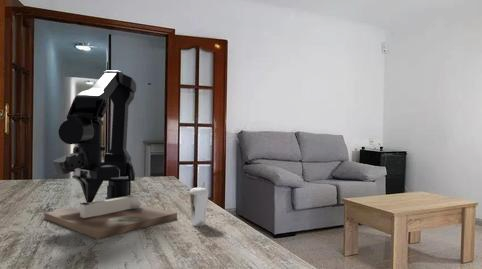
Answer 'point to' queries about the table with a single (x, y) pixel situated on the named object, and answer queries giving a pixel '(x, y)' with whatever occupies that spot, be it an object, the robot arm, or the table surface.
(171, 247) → the table surface
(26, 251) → the table surface
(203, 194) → the milkshake
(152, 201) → the table surface
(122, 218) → the plate
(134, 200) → the peg lever
